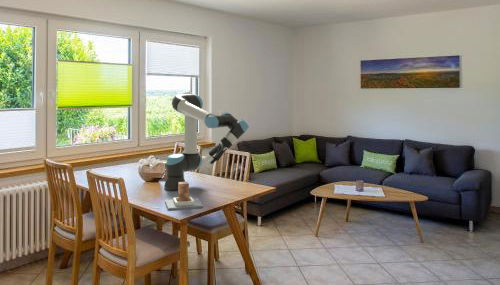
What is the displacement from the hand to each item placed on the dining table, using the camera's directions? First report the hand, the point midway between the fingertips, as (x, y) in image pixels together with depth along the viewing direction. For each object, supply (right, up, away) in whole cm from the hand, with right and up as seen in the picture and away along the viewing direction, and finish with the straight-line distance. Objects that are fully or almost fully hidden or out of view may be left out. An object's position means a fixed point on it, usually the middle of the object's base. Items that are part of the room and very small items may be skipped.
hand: (204, 165), depth 250 cm
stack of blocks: (-36, -14, +62) cm, 73 cm away
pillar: (-11, -22, -11) cm, 27 cm away
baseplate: (-12, -23, -11) cm, 28 cm away
